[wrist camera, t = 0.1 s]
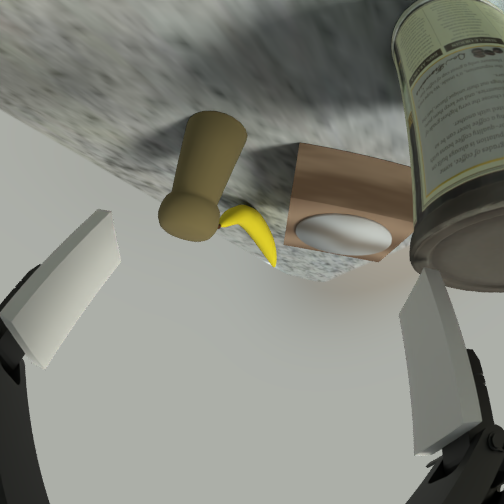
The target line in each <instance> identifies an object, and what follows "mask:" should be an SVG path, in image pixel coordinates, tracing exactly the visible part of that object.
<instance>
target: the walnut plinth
mask: <svg viewBox="0 0 504 504" xmlns="http://www.w3.org/2000/svg"><path fill="white" fill-rule="evenodd" d="M413 232H414V228H413V193H412V177H411V167H408V166H404V165H401V164H397V163H393V162H389V161H385V160H381V159H377V158H373V157H369V156H365V155H360V154H356V153H351V152H347V151H342V150H337V149H332V148H327V147H322V146H316V145H311V144H305V143H300V144H299V150H298V156H297V163H296V169H295V175H294V181H293V187H292V193H291V199H290V206H289V213H288V219H287V226H286V233H285V239H284V245H288V246H293V247H299V248H304V249H310V250H315V251H321V252H326V253H332V254H337V255H343V256H348V257H353V258H359V259H364V260H369V261H375V262H379V261H381V260H382V259H383V258H384V257H385V256H386V255H388V254H389V253H390V252H391V251H392V250H393V249H395V248H396V247H397V246H398V245H399V244H400V243H401V242H403V241H404V240H405V239H406V238H407V237H408V236H409V235H410V234H411V233H413Z"/></svg>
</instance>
